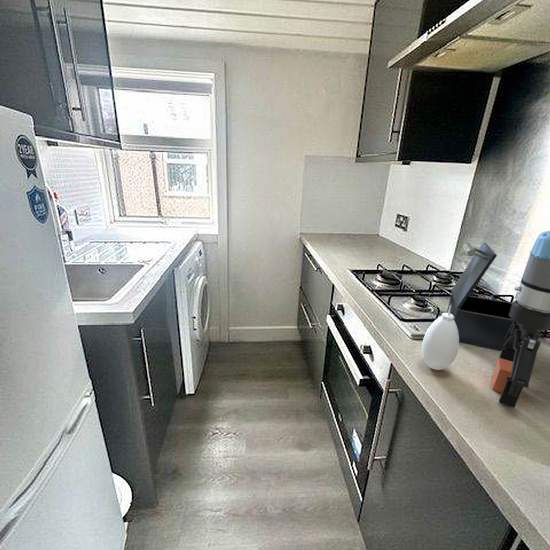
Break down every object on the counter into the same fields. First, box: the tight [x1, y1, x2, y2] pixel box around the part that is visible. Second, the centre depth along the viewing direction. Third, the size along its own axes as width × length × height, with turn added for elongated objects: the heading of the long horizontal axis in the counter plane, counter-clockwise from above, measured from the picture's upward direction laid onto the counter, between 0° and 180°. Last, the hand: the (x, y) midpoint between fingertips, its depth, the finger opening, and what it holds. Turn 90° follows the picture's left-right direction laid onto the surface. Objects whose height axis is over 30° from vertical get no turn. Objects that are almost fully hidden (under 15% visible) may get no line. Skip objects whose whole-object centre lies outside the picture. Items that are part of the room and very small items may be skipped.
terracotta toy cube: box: [490, 357, 524, 399], centre depth 70 cm, size 5×5×6 cm
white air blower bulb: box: [421, 305, 460, 371], centre depth 74 cm, size 8×8×18 cm
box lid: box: [451, 241, 498, 309], centre depth 89 cm, size 18×14×6 cm
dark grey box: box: [446, 294, 515, 352], centre depth 91 cm, size 17×14×10 cm
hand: (503, 386), depth 71 cm, fingers open, 12 cm apart
